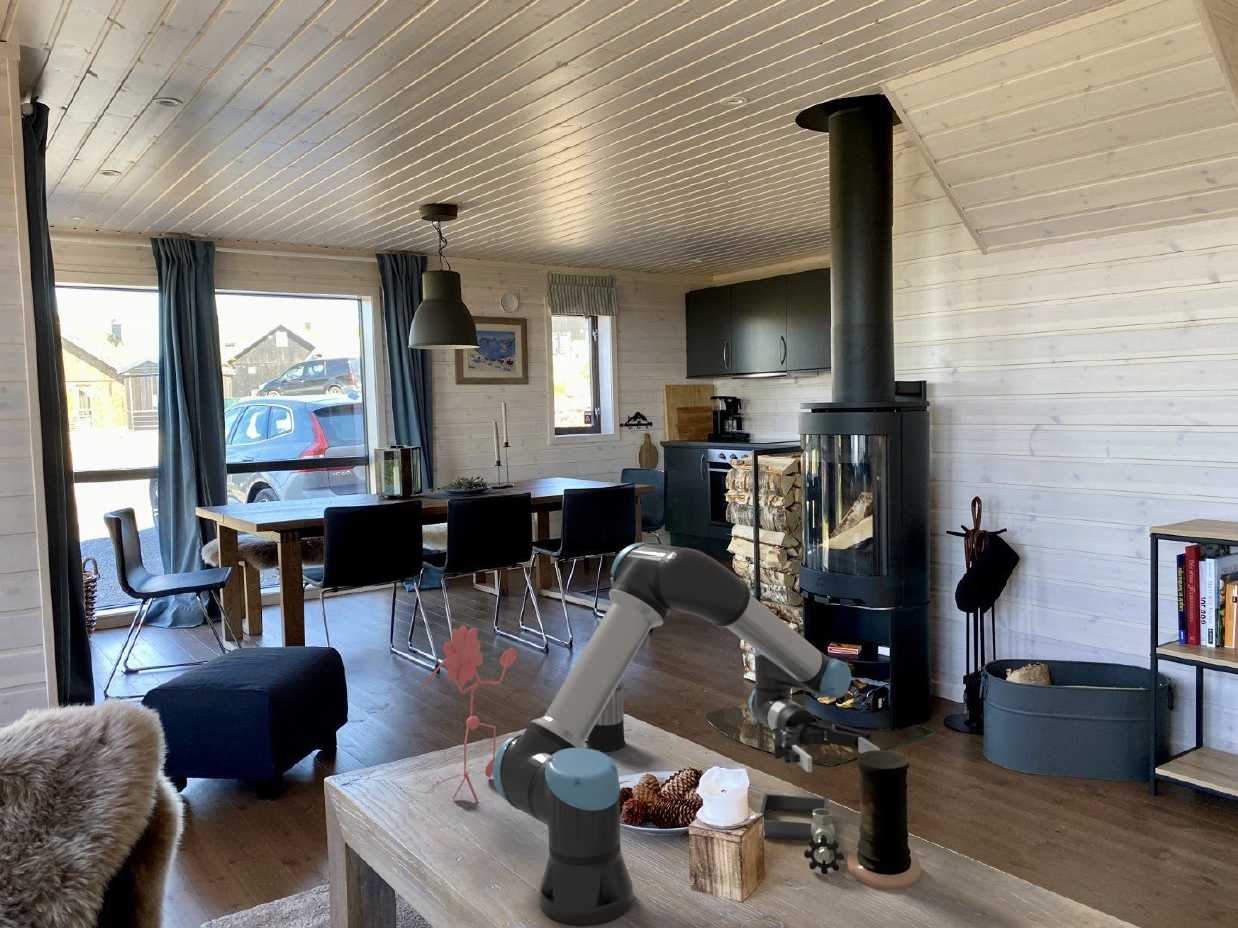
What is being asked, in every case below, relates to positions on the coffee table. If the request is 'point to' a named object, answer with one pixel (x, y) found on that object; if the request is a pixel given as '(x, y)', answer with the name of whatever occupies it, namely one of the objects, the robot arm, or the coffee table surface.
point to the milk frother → (609, 725)
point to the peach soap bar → (884, 880)
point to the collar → (790, 805)
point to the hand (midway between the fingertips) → (844, 760)
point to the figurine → (462, 664)
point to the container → (883, 812)
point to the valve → (823, 841)
